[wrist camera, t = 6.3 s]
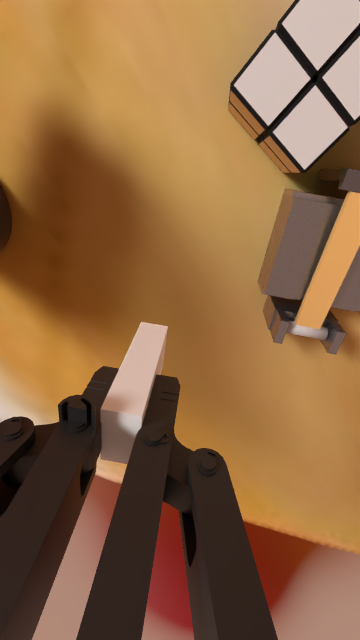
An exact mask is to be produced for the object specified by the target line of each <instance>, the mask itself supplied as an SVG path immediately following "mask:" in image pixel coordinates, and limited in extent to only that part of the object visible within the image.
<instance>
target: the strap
mask: <svg viewBox="0 0 360 640" xmlns="http://www.w3.org/2000/svg"><path fill="white" fill-rule="evenodd" d="M359 246H360V193H358V192H353V191H348V193H347V195H346V198H345V200H344V202H343V205H342V207H341V210H340V212H339V214H338V217H337V219H336V222H335V224H334V227H333V229H332V231H331V234H330V236H329V239H328V241H327V243H326V246H325V248H324V251H323V253H322V256H321V258H320V260H319V263H318V265H317V268H316V270H315V272H314V275H313V277H312V280H311V282H310V285H309V287H308V289H307V292H306V294H305V297H304V299H303V301H302V304H301V306H300V309H299V311H298V313H297V316H296V318H295V321H290V320H289V322H290V323H289V326H288V329H287V331H286V333H290V334H295V335H300V336H305V337H310V338H315V339H321V340H325V339H326V338H327V335H328V329H327V328H326V327H321V326H322V324H323V322H324V320H325V318H326V316H327V313H328V311H329V309H330V307H331V305H332V303H333V301H334V299H335V297H336V295H337V292H338V290H339V288H340V286H341V284H342V282H343V280H344V278H345V276H346V274H347V271H348V269H349V267H350V265H351V263H352V261H353V259H354V257H355V255H356V253H357V251H358V248H359Z"/></svg>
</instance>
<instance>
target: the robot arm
mask: <svg viewBox="0 0 360 640" xmlns="http://www.w3.org/2000/svg"><path fill="white" fill-rule="evenodd" d="M10 232H11V214H10V208H9V205H8V202H7V199H6V196H5V194H4V192H3V190H2V188H1V186H0V251H1V250H2V249H3V248H4V246H5V245H6V243H7V241H8V239H9V236H10ZM167 330H168V326H163V325H157V324H151V323H145V322H141V323H140V325H139V328H138V330H137V332H136V334H135V336H134V338H133V340H132V343H131V345H130V347H129V349H128V351H127V353H126V356H125V358H124V360H123V362H122V364H121V366H120V368H119V369H118V368H112V367H106V366H103V367H101V368H100V369H99V370H97V371H96V372H95V373H94V375H93V377H92V378H91V381H90V382H89V384H88V385H87V388H86V389H85V391H84V392H83V394H82V395H74V396H70V397H67V398H66V399H64V400H62V401H61V402H60V403H59V404H58V410H59V421H60V422H57V423H53V424H46V425H36V426H34V424H33V421H31V420H30V419H29V418H26V417H12V418H10V419H7V420H4V421H3V422H1V423H0V640H32V637H33V634H34V632H35V630H36V627H37V624H38V622H39V619H40V616H41V614H42V611H43V609H44V606H45V603H46V601H47V598H48V596H49V593H50V590H51V588H52V585H53V582H54V580H55V577H56V575H57V572H58V569H59V566H60V564H61V562H62V559H63V556H64V554H65V551H66V549H67V546H68V543H69V541H70V538H71V535H72V533H73V530H74V527H75V525H76V522H77V520H78V517H79V515H80V511H81V509H82V507H83V504H84V501H85V499H86V496H87V493H88V491H89V488H90V486H91V483H92V480H93V478H94V475H95V473H96V462H97V459H98V457H99V454H100V452H101V459H102V460H108V461H114V462H119V463H125V464H128V465H127V468H126V471H125V475H124V478H123V482H122V485H121V489H120V492H119V496H118V499H117V503H116V506H115V509H114V512H113V516H112V519H111V523H110V526H109V529H108V533H107V536H106V540H105V543H104V547H103V550H102V554H101V557H100V560H99V564H98V567H97V570H96V574H95V577H94V581H93V584H92V588H91V591H90V594H89V598H88V602H87V605H86V608H85V611H84V615H83V618H82V622H81V625H80V629H79V632H78V636H77V639H76V640H141V637H142V631H143V625H144V617H145V611H146V604H147V599H148V592H149V586H150V579H151V573H152V567H153V560H154V553H155V547H156V541H157V535H158V534H157V533H158V528H159V522H160V515H161V509H162V503H163V501H164V502H166V503H168V504H169V505H171V506H173V507H174V508H176V509H178V510H179V518H180V526H181V534H182V542H183V549H184V558H185V566H186V575H187V583H188V591H189V599H190V607H191V614H192V624H193V632H194V639H195V640H278V638H277V635H276V631H275V628H274V625H273V621H272V618H271V615H270V611H269V608H268V604H267V601H266V598H265V594H264V591H263V587H262V584H261V581H260V577H259V574H258V570H257V567H256V564H255V560H254V557H253V553H252V550H251V547H250V544H249V540H248V536H247V533H246V530H245V527H244V523H243V519H242V516H241V513H240V509H239V506H238V502H237V499H236V496H235V492H234V489H233V485H232V482H231V479H230V475H229V472H228V468H227V465H226V463H225V461H224V459H223V457H222V456H221V455H220V454H219V453H218V452H216V451H214V450H212V449H207V448H201V449H197V450H196V451H192V450H190V449H188V448H186V447H185V446H183V445H182V444H181V443H180V442H179V441H178V440H177V439H176V437H175V434H174V424H175V418H176V411H177V404H178V398H179V391H180V384H179V381H178V379H177V378H175V377H169V376H163V375H161V372H162V368H163V362H164V354H165V346H166V338H167Z"/></svg>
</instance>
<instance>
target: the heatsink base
mask: <svg viewBox="0 0 360 640" xmlns="http://www.w3.org/2000/svg"><path fill="white" fill-rule="evenodd" d="M319 178H320V179H326V180H331V181H337V182H340V183H339V186H338V189H342V190H347V191H353V192H359V193H360V170H354V169H349V168H346V169H321V172H320V175H319ZM344 200H345V199H342V198H337V197H331V196H325V195H319V194H314V193H308V192H302V191H297V190H291V189H285V190H284V194H283V197H282V200H281V204H280V207H279V211H278V214H277V217H276V221H275V224H274V228H273V231H272V234H271V238H270V241H269V245H268V248H267V251H266V255H265V258H264V262H263V265H262V268H261V272H260V275H259V279H258V283H259V286H260V289H261V292H262V294H266V295H268V297H267V300H266V303H265V306H264V309H263V313H264V316H265V319H266V323H267V326H268V329H269V330H270V332H271V335H272V338H273V342H275V343H280V344H282V342H283V339H284V336H285V334H286V331H287V329H288V326H289V323H290V322H289V320H290V321H295V318H296V316H297V313H298V311H299V309H300V306H301V304H302V301H303V299H304V297H305V294H306V292H307V289H308V287H309V285H310V282H311V280H312V277H313V275H314V272H315V270H316V268H317V265H318V263H319V260H320V258H321V256H322V253H323V251H324V248H325V246H326V243H327V241H328V239H329V236H330V234H331V231H332V229H333V227H334V224H335V222H336V219H337V217H338V214H339V212H340V210H341V207H342V205H343V202H344ZM331 307H334V308H339V309H344V310H349V311H355V312H357V311H360V246H359V248H358V251H357V253H356V255H355V257H354V259H353V261H352V263H351V265H350V267H349V269H348V271H347V274H346V276H345V278H344V280H343V282H342V284H341V286H340V288H339V290H338V292H337V295H336V297H335V299H334V301H333V303H332V305H331ZM321 327H326V328H327V329H328V335H327V338H326V339H325V340H321V339H320V340H321V342H322V344H323V346H324V347H325V349H326V351H327V353H331V354H336V353H337V351H338V349H339V347H340V345H341V343H342V341H343V339H344V337H345V335H346V332H345V331H344V330H343V329H342V327H341V326H340V325H339V323H338V320H337V319H336V318H335V316H334V315H333V314H332V312H331V311H330V310H329V311H328V313H327V316H326V318H325V320H324V322H323V324H322V326H321ZM289 334H290V333H289ZM294 335H295V334H294Z"/></svg>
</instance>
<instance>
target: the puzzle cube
mask: <svg viewBox="0 0 360 640" xmlns="http://www.w3.org/2000/svg"><path fill="white" fill-rule="evenodd" d="M229 111H230V113H231V114H232V115H233V116H234V117H235V118H236V119H237V121H238V122H239V123H240V124H241V125H242V126H243V127H244V129H245V130H246V131H247V132H248V133H249V134H250V135H251V137H252V138H253V139H254V140H259V143H258V145H259V146H260V147H261V148H262V149H263V150H264V152H265V153H266V154H267V155H268V156H269V157H270V158H271V160H272V161H273V162H274V163H275V164H276V165H277V166H278V168H279V169H280V170H281V171H282V172H283V173H290V172H294V173H306V172H307V171H308V170H309V169H310V168H311V167H312V166H313V165H314V164H315V163H316V162H317V161H318V160H319V159H320V158H321V157H322V156H323V155H324V154H325V153H326V152H327V151H328V150H330V149H331V148H332V147H333V146H334V145H335V144H336V143H337V142H338V141H339V140H340V139H341V138H342V137H343V136H344V135H345V134H346V133H347V132H348V131H349V127H350V126H351V125H354V124H356V123H357V122H358V121H359V120H360V0H295V1H294V2H293V4H292V5H291V6H290V8H289V9H288V10H287V11H286V13H285V14H284V15H283V17H282V18H281V19H280V20H279V22H278V24H277V27H276V30H272V31H271V32H270V33H269V35H268V36H267V37H266V38H265V40H264V41H263V42H262V44H261V45H260V46H259V47H258V49H257V50H256V51H255V53H254V54H253V55H252V56H251V58H250V59H249V60H248V62H247V63H246V64H245V65H244V67H243V68H242V69H241V71H240V72H239V73H238V74H237V76H236V77H235V78H234V80H233V81H232V82H231V86H230V96H229Z"/></svg>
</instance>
